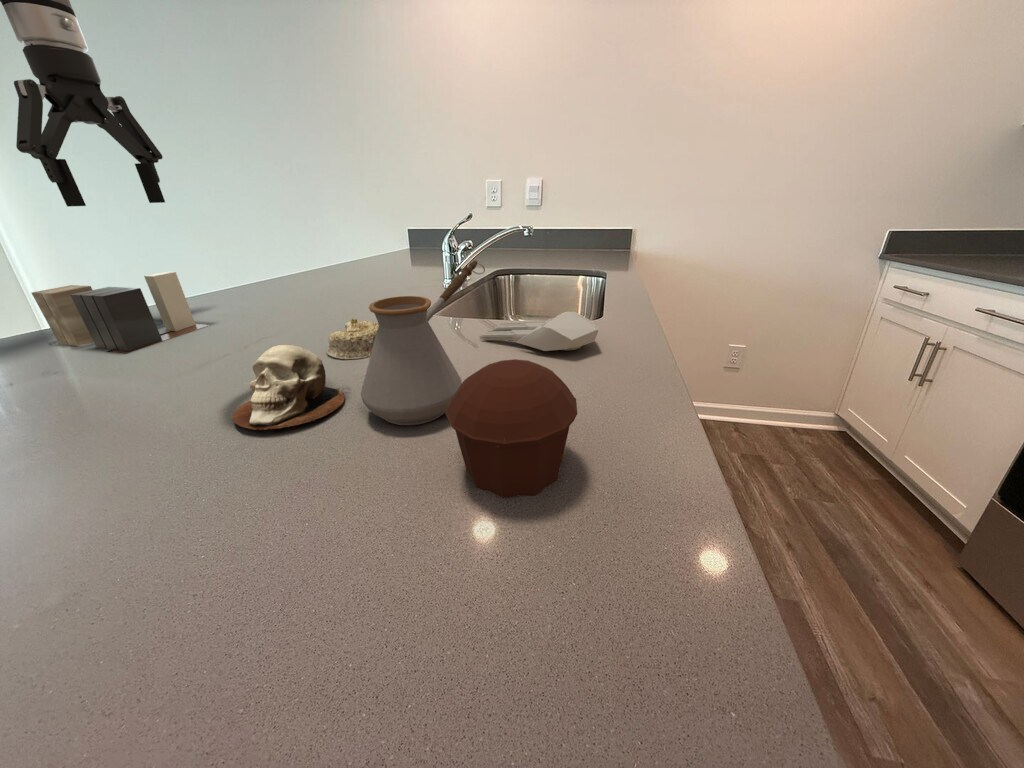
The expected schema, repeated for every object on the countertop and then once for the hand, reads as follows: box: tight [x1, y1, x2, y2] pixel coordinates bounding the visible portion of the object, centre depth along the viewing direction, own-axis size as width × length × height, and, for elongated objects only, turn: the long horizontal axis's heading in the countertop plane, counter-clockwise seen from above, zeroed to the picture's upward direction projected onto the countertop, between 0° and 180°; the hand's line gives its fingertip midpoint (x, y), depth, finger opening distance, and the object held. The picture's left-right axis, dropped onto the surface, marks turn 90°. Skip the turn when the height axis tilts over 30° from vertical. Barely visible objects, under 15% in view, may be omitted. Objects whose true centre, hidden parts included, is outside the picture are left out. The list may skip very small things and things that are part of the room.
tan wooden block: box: [31, 284, 94, 347], centre depth 73 cm, size 8×15×10 cm, turn 165°
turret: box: [478, 311, 599, 352], centre depth 67 cm, size 10×20×5 cm, turn 61°
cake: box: [325, 318, 379, 360], centre depth 66 cm, size 10×10×5 cm
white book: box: [143, 271, 197, 331], centre depth 74 cm, size 2×4×10 cm, turn 165°
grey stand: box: [71, 286, 211, 355], centre depth 70 cm, size 8×15×10 cm, turn 166°
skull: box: [231, 344, 346, 431], centre depth 49 cm, size 12×10×10 cm
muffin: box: [444, 358, 578, 499], centre depth 36 cm, size 12×11×10 cm
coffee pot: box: [360, 259, 486, 426], centre depth 49 cm, size 21×12×15 cm, turn 151°
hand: (120, 204), depth 70 cm, fingers open, 13 cm apart
